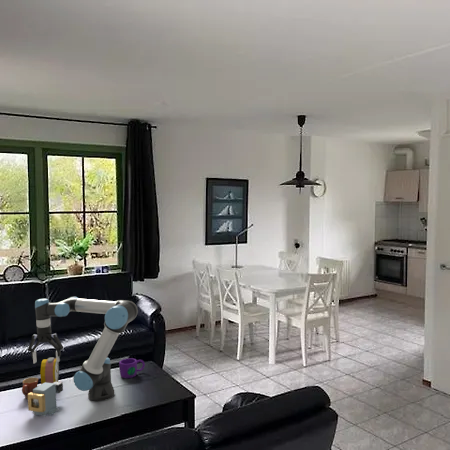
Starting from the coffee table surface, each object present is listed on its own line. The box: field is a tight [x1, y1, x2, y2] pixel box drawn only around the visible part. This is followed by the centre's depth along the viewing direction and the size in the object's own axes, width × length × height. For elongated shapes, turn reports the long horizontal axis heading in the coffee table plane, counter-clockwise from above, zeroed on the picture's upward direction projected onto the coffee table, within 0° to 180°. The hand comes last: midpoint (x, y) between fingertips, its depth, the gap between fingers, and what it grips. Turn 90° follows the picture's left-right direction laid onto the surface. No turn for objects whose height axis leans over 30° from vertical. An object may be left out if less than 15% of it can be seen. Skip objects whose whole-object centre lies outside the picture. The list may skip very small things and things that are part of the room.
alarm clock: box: [40, 357, 60, 385], centre depth 296 cm, size 15×8×18 cm, turn 9°
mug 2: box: [118, 357, 146, 379], centre depth 313 cm, size 17×11×10 cm, turn 124°
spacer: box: [27, 392, 46, 412], centre depth 256 cm, size 9×2×9 cm, turn 74°
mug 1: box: [21, 377, 39, 400], centre depth 280 cm, size 12×9×10 cm
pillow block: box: [32, 382, 59, 417], centre depth 263 cm, size 12×10×14 cm
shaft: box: [33, 381, 64, 404], centre depth 265 cm, size 5×21×5 cm, turn 164°
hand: (46, 362), depth 274 cm, fingers open, 13 cm apart
